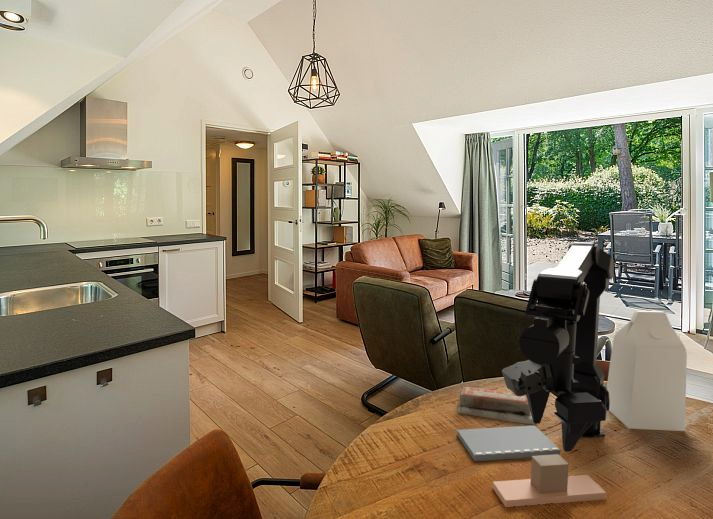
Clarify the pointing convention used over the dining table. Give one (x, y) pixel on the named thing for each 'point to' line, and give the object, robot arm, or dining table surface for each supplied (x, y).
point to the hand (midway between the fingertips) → (550, 436)
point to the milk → (648, 374)
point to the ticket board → (506, 443)
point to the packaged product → (495, 405)
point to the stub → (548, 485)
